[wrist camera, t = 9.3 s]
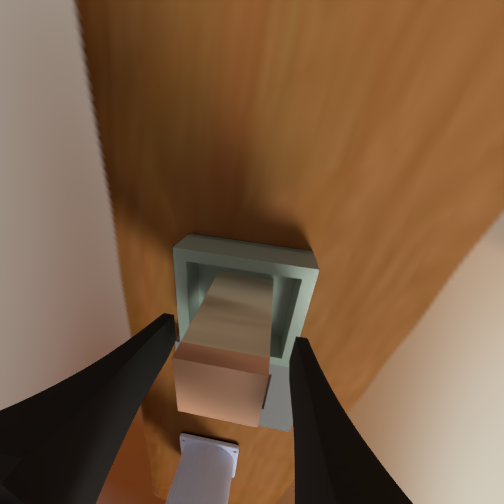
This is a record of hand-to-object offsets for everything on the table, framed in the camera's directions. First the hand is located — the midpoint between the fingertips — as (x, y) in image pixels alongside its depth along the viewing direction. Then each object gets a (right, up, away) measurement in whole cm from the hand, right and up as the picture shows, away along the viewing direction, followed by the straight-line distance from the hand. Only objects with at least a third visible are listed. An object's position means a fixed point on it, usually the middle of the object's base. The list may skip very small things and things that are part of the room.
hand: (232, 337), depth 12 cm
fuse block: (0, +2, +4) cm, 4 cm away
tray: (+1, +2, +4) cm, 4 cm away
